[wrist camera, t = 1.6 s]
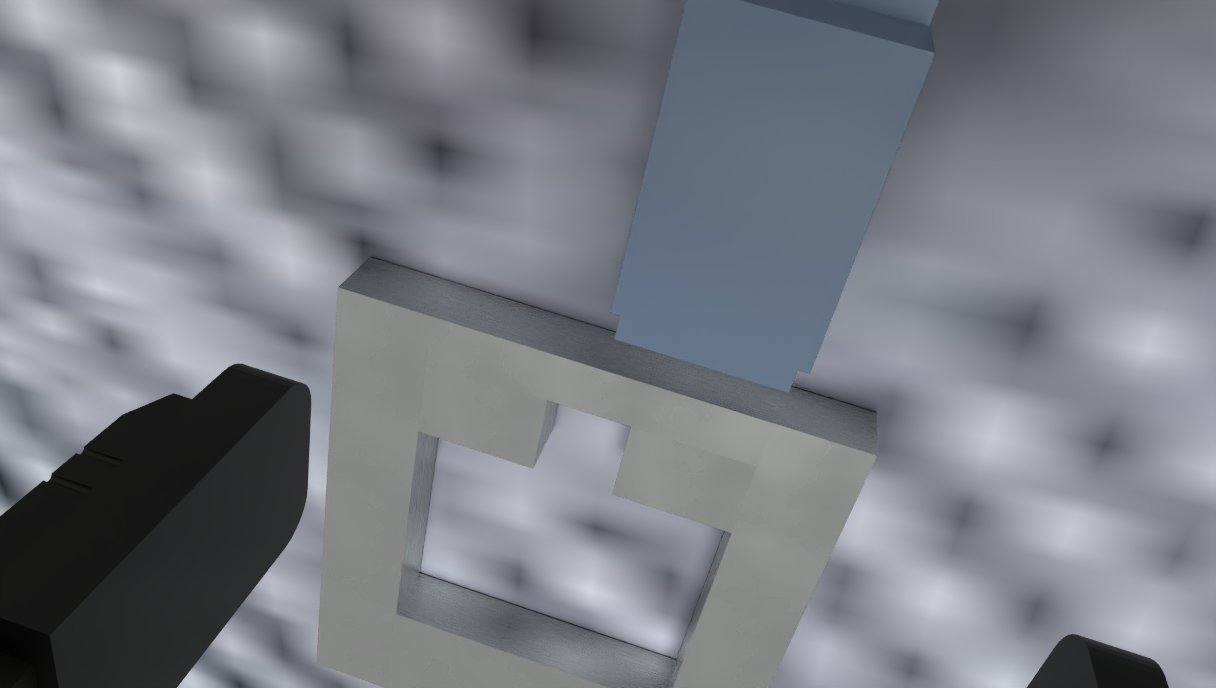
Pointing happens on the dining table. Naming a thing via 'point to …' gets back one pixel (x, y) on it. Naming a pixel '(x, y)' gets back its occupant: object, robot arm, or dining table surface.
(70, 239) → the dining table surface
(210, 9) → the dining table surface
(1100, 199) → the dining table surface
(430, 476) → the plate
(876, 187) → the block
